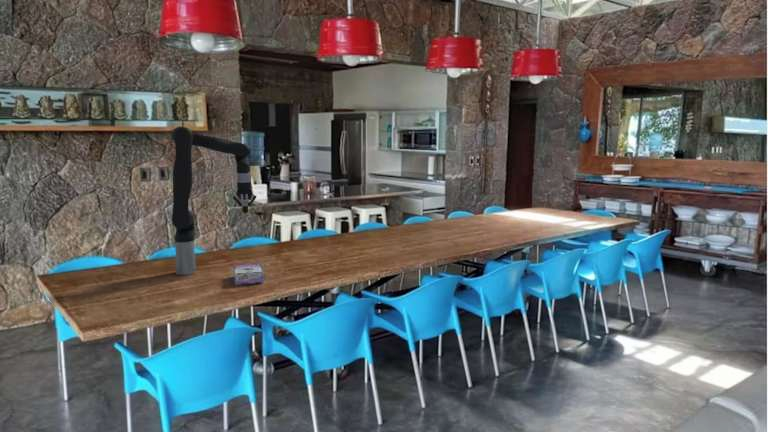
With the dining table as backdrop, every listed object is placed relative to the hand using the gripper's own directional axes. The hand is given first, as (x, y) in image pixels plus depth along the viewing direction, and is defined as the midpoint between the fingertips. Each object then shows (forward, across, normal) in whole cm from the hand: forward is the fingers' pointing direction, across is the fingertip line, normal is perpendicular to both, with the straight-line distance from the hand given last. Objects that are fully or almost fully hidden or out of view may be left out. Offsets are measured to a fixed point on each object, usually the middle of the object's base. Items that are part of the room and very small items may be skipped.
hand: (245, 213), depth 291 cm
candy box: (+26, +2, -22) cm, 34 cm away
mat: (+29, +2, -29) cm, 41 cm away
